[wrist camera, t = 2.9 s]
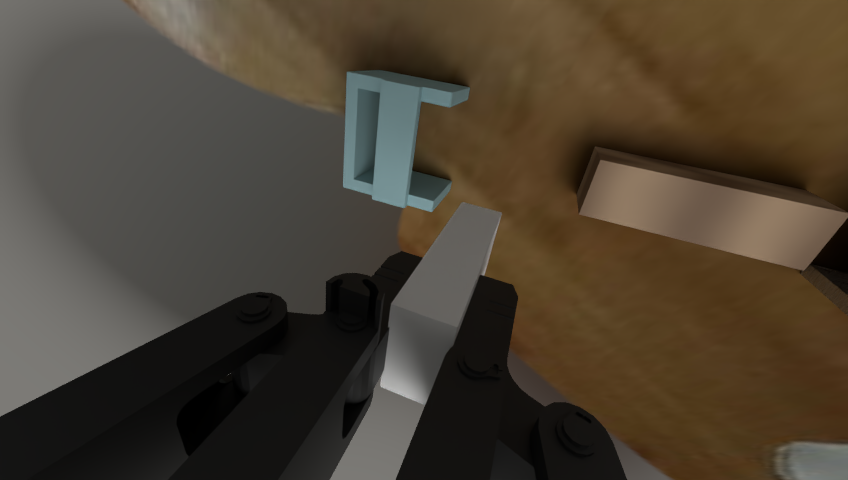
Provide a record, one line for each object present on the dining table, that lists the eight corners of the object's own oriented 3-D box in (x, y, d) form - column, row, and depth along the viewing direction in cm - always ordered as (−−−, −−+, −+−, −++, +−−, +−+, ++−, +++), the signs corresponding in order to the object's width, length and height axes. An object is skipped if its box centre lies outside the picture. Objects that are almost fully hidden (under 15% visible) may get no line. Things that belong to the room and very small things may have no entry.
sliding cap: (372, 169, 29) (338, 189, 25) (379, 69, 26) (341, 71, 21) (450, 190, 28) (429, 215, 23) (470, 87, 24) (449, 93, 20)
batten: (576, 193, 25) (578, 214, 22) (594, 145, 24) (600, 159, 20) (768, 239, 23) (804, 270, 19) (804, 189, 21) (850, 213, 18)
